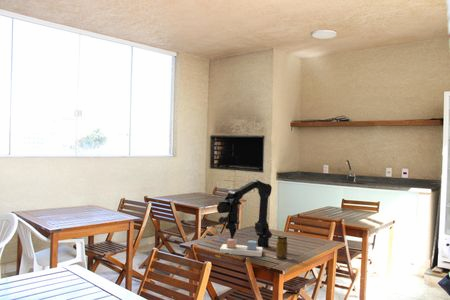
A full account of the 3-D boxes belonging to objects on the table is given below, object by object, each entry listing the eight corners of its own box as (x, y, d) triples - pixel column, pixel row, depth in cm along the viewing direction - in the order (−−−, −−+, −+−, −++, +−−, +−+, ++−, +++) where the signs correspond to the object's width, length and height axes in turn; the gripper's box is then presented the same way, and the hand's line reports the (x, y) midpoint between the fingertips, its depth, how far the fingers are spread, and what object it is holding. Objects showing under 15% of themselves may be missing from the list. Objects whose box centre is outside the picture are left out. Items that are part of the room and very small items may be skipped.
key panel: (262, 251, 233) (262, 247, 233) (261, 256, 222) (261, 252, 222) (222, 248, 237) (223, 243, 237) (219, 253, 225) (219, 248, 225)
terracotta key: (236, 245, 232) (236, 239, 232) (235, 248, 227) (235, 241, 227) (228, 245, 233) (228, 238, 233) (226, 247, 228) (227, 240, 228)
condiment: (280, 255, 226) (281, 234, 226) (292, 258, 220) (293, 237, 220) (272, 257, 221) (273, 236, 221) (285, 261, 215) (286, 239, 215)
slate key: (256, 247, 230) (256, 240, 230) (255, 249, 226) (256, 242, 226) (247, 246, 231) (248, 240, 231) (247, 249, 226) (247, 242, 226)
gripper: (222, 208, 241) (221, 234, 241) (217, 213, 222) (215, 240, 222) (240, 210, 239) (239, 235, 239) (236, 215, 220) (235, 242, 221)
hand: (232, 238), depth 230 cm, fingers closed
